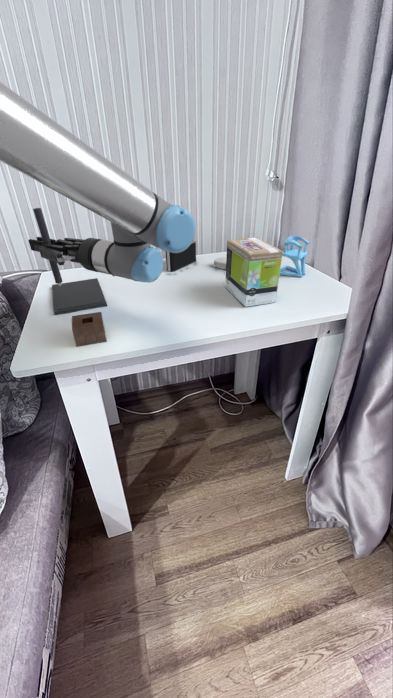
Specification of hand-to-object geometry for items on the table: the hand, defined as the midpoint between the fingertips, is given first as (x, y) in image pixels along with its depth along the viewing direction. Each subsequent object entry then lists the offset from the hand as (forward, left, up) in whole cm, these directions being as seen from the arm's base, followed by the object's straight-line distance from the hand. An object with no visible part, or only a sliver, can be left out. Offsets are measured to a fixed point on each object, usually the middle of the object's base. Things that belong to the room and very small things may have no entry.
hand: (35, 243), depth 85 cm
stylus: (+5, -1, -11) cm, 12 cm away
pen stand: (+22, -16, -16) cm, 31 cm away
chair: (+68, +36, -17) cm, 79 cm away
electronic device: (+48, +36, -17) cm, 62 cm away
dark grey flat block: (+6, +4, -16) cm, 18 cm away
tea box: (+56, +16, -17) cm, 60 cm away
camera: (+28, +36, -17) cm, 49 cm away
